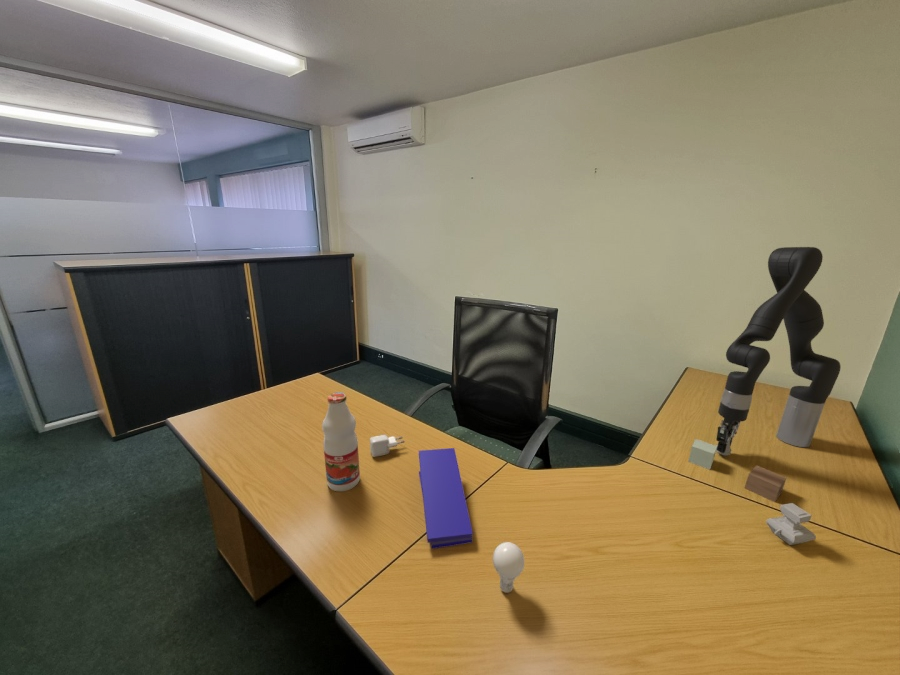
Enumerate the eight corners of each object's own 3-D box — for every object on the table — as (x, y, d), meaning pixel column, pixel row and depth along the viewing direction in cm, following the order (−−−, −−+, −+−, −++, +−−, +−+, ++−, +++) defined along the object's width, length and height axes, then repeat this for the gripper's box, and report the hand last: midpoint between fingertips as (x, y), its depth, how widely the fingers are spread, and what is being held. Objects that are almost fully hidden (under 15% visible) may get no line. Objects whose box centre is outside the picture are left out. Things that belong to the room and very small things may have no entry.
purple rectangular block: (452, 471, 112) (452, 443, 109) (475, 545, 86) (476, 512, 83) (415, 475, 110) (415, 447, 107) (427, 552, 84) (427, 518, 81)
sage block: (691, 454, 123) (695, 438, 121) (712, 461, 119) (717, 446, 117) (688, 461, 118) (691, 446, 117) (709, 470, 114) (714, 453, 113)
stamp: (787, 551, 85) (797, 523, 83) (759, 529, 91) (768, 502, 89) (816, 546, 87) (827, 518, 84) (787, 525, 93) (796, 498, 91)
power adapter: (401, 444, 125) (401, 429, 124) (405, 451, 121) (405, 436, 119) (369, 451, 121) (369, 435, 119) (372, 459, 117) (371, 443, 115)
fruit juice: (362, 471, 111) (357, 388, 103) (356, 492, 102) (350, 403, 94) (332, 471, 111) (324, 388, 103) (323, 492, 102) (313, 404, 94)
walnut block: (752, 479, 110) (756, 465, 109) (781, 492, 105) (786, 477, 104) (744, 487, 106) (748, 473, 105) (774, 502, 101) (779, 487, 100)
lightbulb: (488, 576, 78) (490, 535, 75) (517, 574, 78) (520, 534, 75) (494, 605, 72) (497, 562, 69) (525, 602, 72) (529, 560, 69)
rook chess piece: (733, 456, 119) (739, 435, 117) (718, 455, 120) (723, 434, 118) (726, 449, 123) (731, 428, 121) (712, 447, 124) (717, 427, 122)
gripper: (729, 393, 123) (718, 437, 128) (713, 405, 115) (702, 450, 120) (756, 401, 118) (744, 446, 123) (741, 414, 110) (728, 462, 114)
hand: (723, 448), depth 121 cm, fingers closed on rook chess piece, 4 cm apart
